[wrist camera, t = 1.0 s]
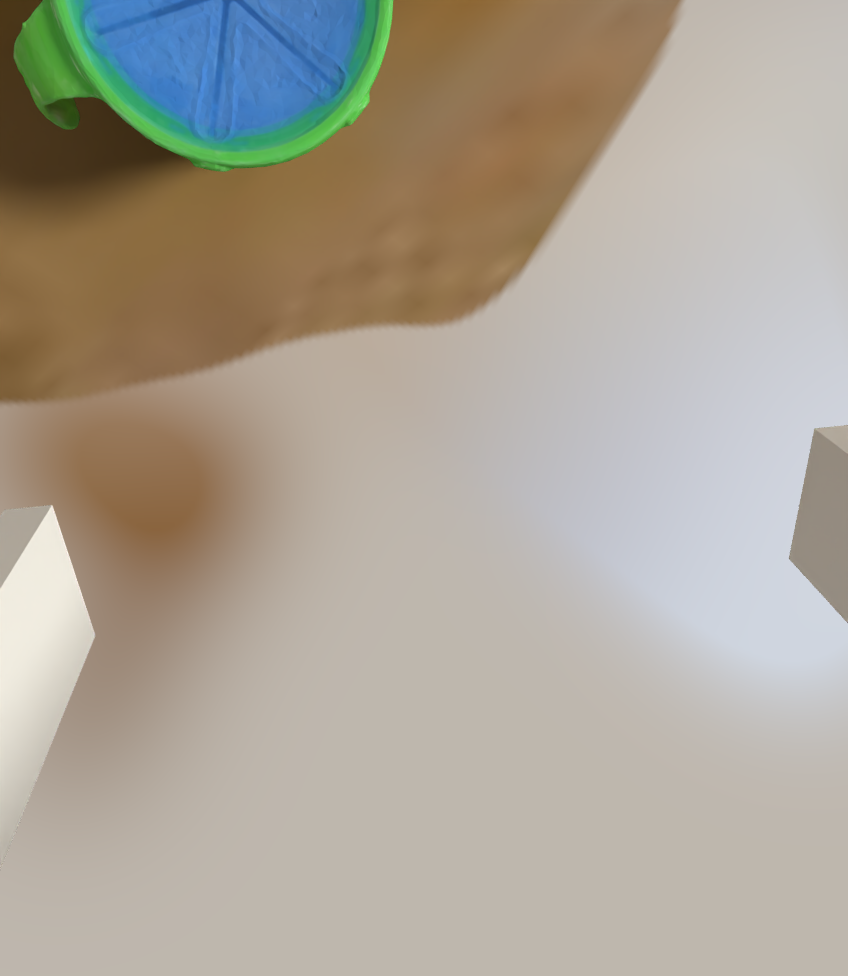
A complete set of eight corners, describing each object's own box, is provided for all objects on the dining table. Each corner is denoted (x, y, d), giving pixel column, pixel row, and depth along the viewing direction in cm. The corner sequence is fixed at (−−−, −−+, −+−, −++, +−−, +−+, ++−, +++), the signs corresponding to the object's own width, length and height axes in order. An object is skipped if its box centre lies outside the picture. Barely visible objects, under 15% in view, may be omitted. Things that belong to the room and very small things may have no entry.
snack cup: (112, 217, 35) (40, 219, 26) (16, -55, 32) (-110, -171, 22) (451, 134, 36) (502, 106, 26) (396, -141, 32) (432, -288, 23)
